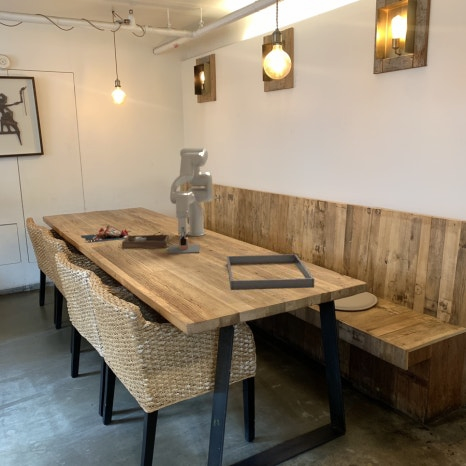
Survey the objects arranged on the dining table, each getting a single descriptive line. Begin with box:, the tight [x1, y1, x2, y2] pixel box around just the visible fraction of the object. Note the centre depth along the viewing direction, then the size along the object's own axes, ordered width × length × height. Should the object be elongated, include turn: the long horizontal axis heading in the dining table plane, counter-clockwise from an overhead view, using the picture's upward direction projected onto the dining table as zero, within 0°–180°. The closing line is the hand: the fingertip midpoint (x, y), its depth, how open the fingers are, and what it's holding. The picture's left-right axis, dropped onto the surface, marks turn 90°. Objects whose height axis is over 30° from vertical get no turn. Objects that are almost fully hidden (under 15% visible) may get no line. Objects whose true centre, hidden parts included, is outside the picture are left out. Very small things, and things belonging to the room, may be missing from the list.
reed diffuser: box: [134, 231, 166, 242], centre depth 289 cm, size 10×7×20 cm
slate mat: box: [166, 244, 201, 255], centre depth 272 cm, size 18×18×1 cm
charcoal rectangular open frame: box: [226, 253, 315, 291], centre depth 220 cm, size 43×36×4 cm
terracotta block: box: [178, 237, 190, 249], centre depth 271 cm, size 5×5×6 cm
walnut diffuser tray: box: [121, 234, 170, 250], centre depth 286 cm, size 19×26×4 cm
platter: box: [80, 225, 132, 244], centre depth 311 cm, size 35×27×9 cm
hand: (183, 243), depth 271 cm, fingers open, 9 cm apart
